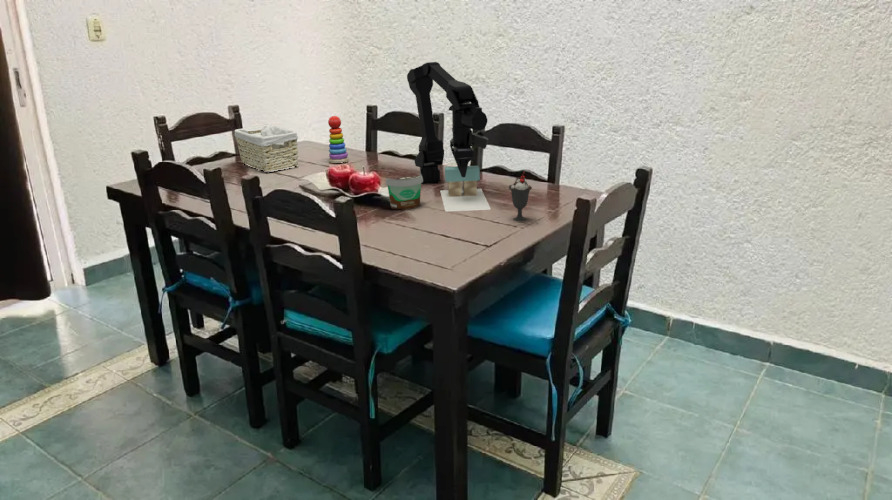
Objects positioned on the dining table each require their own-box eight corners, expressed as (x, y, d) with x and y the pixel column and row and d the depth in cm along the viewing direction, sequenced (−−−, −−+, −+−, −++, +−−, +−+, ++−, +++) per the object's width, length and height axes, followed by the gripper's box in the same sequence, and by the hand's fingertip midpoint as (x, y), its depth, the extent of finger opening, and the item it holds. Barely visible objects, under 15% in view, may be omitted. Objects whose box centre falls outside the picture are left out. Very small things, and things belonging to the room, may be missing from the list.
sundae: (525, 225, 186) (526, 174, 180) (504, 221, 189) (504, 171, 184) (535, 219, 191) (536, 168, 186) (514, 215, 194) (515, 166, 189)
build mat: (445, 212, 199) (445, 211, 198) (440, 191, 221) (440, 190, 221) (491, 210, 199) (491, 209, 199) (481, 189, 222) (481, 188, 222)
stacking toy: (335, 159, 270) (331, 114, 264) (352, 160, 268) (348, 114, 261) (325, 163, 264) (321, 117, 257) (343, 165, 261) (339, 117, 254)
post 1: (449, 196, 213) (449, 181, 212) (448, 193, 217) (448, 178, 215) (461, 196, 214) (461, 181, 212) (460, 192, 217) (460, 178, 216)
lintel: (446, 181, 212) (445, 169, 210) (445, 178, 215) (444, 167, 214) (479, 180, 212) (479, 168, 211) (478, 177, 216) (478, 165, 215)
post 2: (464, 196, 214) (464, 181, 212) (463, 192, 217) (463, 178, 216) (476, 195, 214) (476, 180, 212) (475, 192, 218) (475, 177, 216)
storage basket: (302, 168, 258) (299, 130, 253) (265, 175, 248) (260, 137, 243) (273, 159, 275) (269, 123, 270) (237, 165, 265) (232, 129, 259)
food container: (394, 214, 199) (392, 182, 195) (386, 208, 204) (384, 177, 200) (430, 207, 204) (429, 176, 200) (422, 202, 209) (421, 172, 206)
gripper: (490, 130, 199) (490, 180, 205) (482, 120, 217) (482, 166, 222) (454, 131, 199) (455, 181, 204) (449, 121, 216) (450, 167, 222)
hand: (462, 173), depth 213 cm, fingers open, 9 cm apart
